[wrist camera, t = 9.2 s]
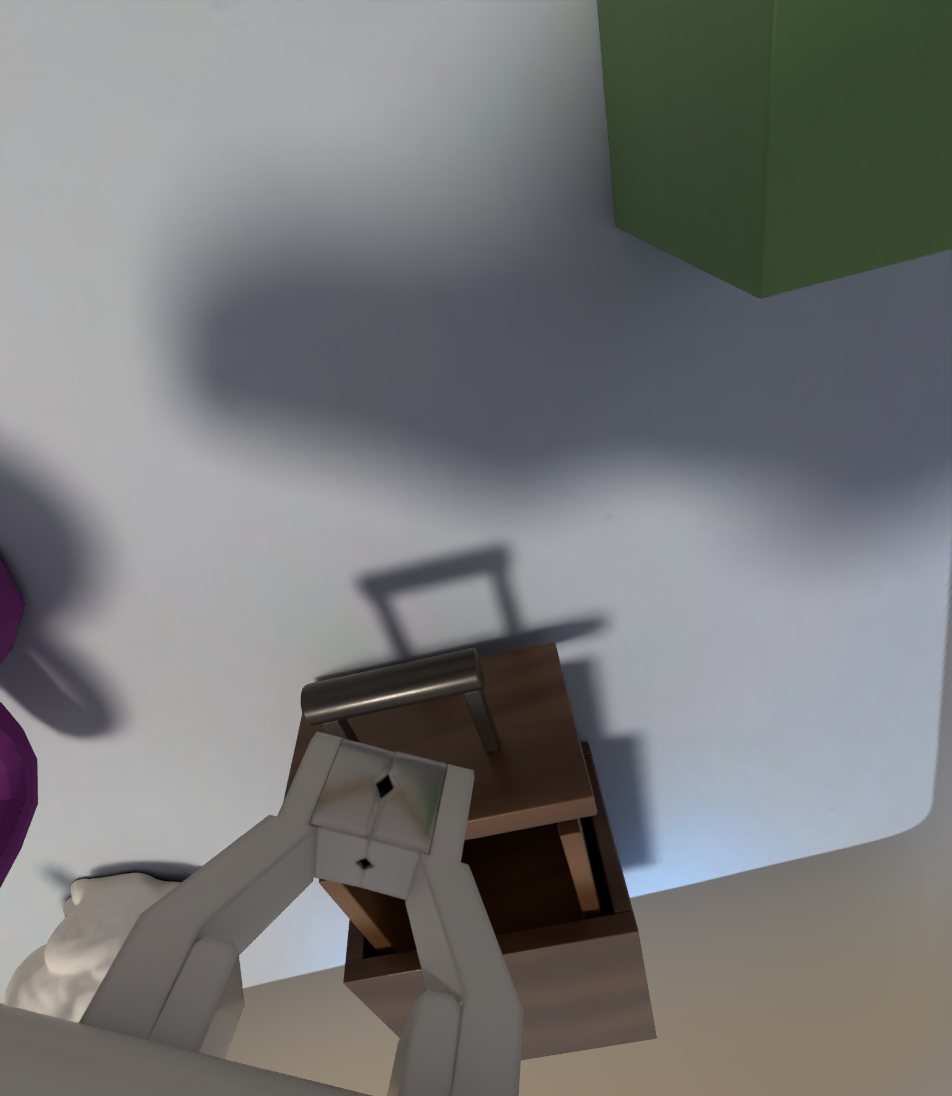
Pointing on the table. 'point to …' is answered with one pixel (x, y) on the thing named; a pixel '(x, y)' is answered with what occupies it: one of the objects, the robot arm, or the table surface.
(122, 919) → the rabbit
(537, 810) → the drawer
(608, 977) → the cabinet
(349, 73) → the table surface
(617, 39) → the block
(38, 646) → the table surface
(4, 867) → the mug
